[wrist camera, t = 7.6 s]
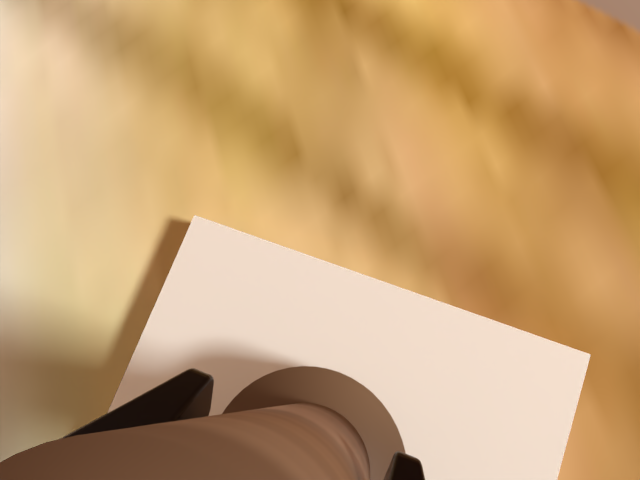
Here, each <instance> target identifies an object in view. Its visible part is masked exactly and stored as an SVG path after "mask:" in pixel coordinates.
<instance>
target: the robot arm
mask: <svg viewBox="0 0 640 480" xmlns="http://www.w3.org/2000/svg"><path fill="white" fill-rule="evenodd" d="M213 385H214V379H213V376H212V375H210V374H208V373H205V372H203V371H200V370H198V369H195V368H191V369H188V370H186V371H184V372H182V373H180V374H178V375H176V376H175V377H173V378H171V379H169V380H167V381H165V382H164V383H162V384H160V385H158V386H156V387H154V388H153V389H151V390H149V391H147V392H145V393H143V394H142V395H140V396H138V397H136V398H134V399H132V400H131V401H129V402H127V403H125V404H123V405H121V406H120V407H118V408H116V409H114V410H112V411H110V412H109V413H107V414H105V415H103V416H101V417H99V418H98V419H96V420H94V421H92V422H90V423H88V424H87V425H85V426H83V427H81V428H79V429H77V430H76V431H74V432H72V433H70V434H68V435H66V436H64V437H63V438H67V437H72V436H76V435H83V434H90V433H97V432H103V431H110V430H117V429H124V428H131V427H138V426H145V425H151V424H158V423H165V422H172V421H179V420H186V419H193V418H199V417H206V416H208V415H209V413H210V409H211V401H212V393H213ZM63 438H61V439H63ZM384 480H425V476H424V472H423V467H422V464H421V461H420V460H419V459H418V458H416V457H413V456H411V455H408V454H406V453H403V452H401V451H397V452H395V453H394V455H393V458H392V460H391V463H390V465H389V467H388V470H387V472H386V475H385V477H384Z"/></svg>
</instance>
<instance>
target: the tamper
mask: <svg viewBox="0 0 640 480" xmlns="http://www.w3.org/2000/svg"><path fill="white" fill-rule="evenodd" d="M397 451H401V452H403V453H405V449H404V445H403V441H402V438H401V436H400V433H399V430H398V428H397V426H396V424H395V422H394V420H393V418H392V417H391V415H390V413H389V412H388V411H387V409H386V408H385V406H384V405H383V404H382V402H381V401H380V400H379V399H378V398H377V397H376V396H375V395H374V394H373V393H372V392H371V391H370V390H369V389H367V388H366V387H365V386H364V385H362V384H361V383H359V382H357V381H356V380H354V379H353V378H351V377H349V376H346V375H344V374H342V373H340V372H337V371H334V370H330V369H327V368H321V367H314V366H299V367H289V368H285V369H281V370H277V371H274V372H272V373H269V374H267V375H265V376H263V377H261V378H259V379H257V380H255V381H254V382H252V383H251V384H250V385H248V386H247V387H245V388H244V389H243V390H242V391H241V392H240V393H239V394H238V395H237V396H236V397H234V399H233V400H232V401H231V402H230V403H229V405H228V406H227V407H226V408H225V410H224V412H223V413H222V414H220V415H213V416H206V417H199V418H193V419H186V420H179V421H172V422H165V423H158V424H151V425H145V426H138V427H131V428H124V429H117V430H110V431H103V432H97V433H90V434H83V435H76V436H72V437H67V438H63V439H59V440H55V441H51V442H46V443H43V444H41V445H38V446H36V447H33V448H30V449H28V450H25V451H23V452H20V453H17V454H15V455H13V456H11V457H10V458H8V459H6V460H4V461H2V462H0V480H384V477H385V475H386V472H387V470H388V467H389V465H390V463H391V460H392V458H393V455H394V453H395V452H397Z"/></svg>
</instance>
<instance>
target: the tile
mask: <svg viewBox="0 0 640 480" xmlns="http://www.w3.org/2000/svg"><path fill="white" fill-rule="evenodd" d="M589 359H590V354H588V353H585V352H582V351H579V350H576V349H573V348H571V347H568V346H565V345H562V344H559V343H556V342H554V341H551V340H548V339H545V338H542V337H539V336H537V335H534V334H531V333H528V332H525V331H522V330H519V329H517V328H514V327H511V326H508V325H505V324H502V323H500V322H497V321H494V320H491V319H488V318H485V317H483V316H480V315H477V314H474V313H471V312H468V311H466V310H463V309H460V308H457V307H454V306H451V305H448V304H446V303H443V302H440V301H437V300H434V299H431V298H429V297H426V296H423V295H420V294H417V293H414V292H412V291H409V290H406V289H403V288H400V287H397V286H395V285H392V284H389V283H386V282H383V281H380V280H377V279H375V278H372V277H369V276H366V275H363V274H360V273H358V272H355V271H352V270H349V269H346V268H343V267H341V266H338V265H335V264H332V263H329V262H326V261H324V260H321V259H318V258H315V257H312V256H309V255H307V254H304V253H301V252H298V251H295V250H292V249H289V248H287V247H284V246H281V245H278V244H275V243H272V242H270V241H267V240H264V239H261V238H258V237H255V236H253V235H250V234H247V233H244V232H241V231H238V230H236V229H233V228H230V227H227V226H224V225H221V224H218V223H216V222H213V221H210V220H207V219H204V218H201V217H199V216H196V215H194V217H193V219H192V222H191V224H190V226H189V228H188V231H187V233H186V235H185V237H184V240H183V242H182V244H181V247H180V249H179V251H178V253H177V256H176V258H175V260H174V262H173V265H172V267H171V269H170V272H169V274H168V276H167V278H166V281H165V283H164V285H163V287H162V290H161V292H160V294H159V296H158V299H157V301H156V303H155V306H154V308H153V310H152V312H151V315H150V317H149V319H148V321H147V324H146V326H145V328H144V331H143V333H142V335H141V337H140V340H139V342H138V344H137V346H136V349H135V351H134V353H133V355H132V358H131V360H130V362H129V365H128V367H127V369H126V371H125V374H124V376H123V378H122V380H121V383H120V385H119V387H118V390H117V392H116V394H115V396H114V399H113V401H112V403H111V405H110V408H109V410H108V412H107V413H109V412H110V411H112V410H114V409H116V408H118V407H120V406H121V405H123V404H125V403H127V402H129V401H131V400H132V399H134V398H136V397H138V396H140V395H142V394H143V393H145V392H147V391H149V390H151V389H153V388H154V387H156V386H158V385H160V384H162V383H164V382H165V381H167V380H169V379H171V378H173V377H175V376H176V375H178V374H180V373H182V372H184V371H186V370H188V369H191V368H195V369H198V370H200V371H203V372H205V373H208V374H210V375H212V376H213V379H214V385H213V393H212V401H211V409H210V413H209V415H208V416H213V415H220V414H222V413H223V412H224V410H225V408H226V407H227V406H228V405H229V403H230V402H231V401H232V400H233V399H234V397H236V396H237V395H238V394H239V393H240V392H241V391H242V390H243V389H244V388H245V387H247V386H248V385H250V384H251V383H252V382H254V381H255V380H257V379H259V378H261V377H263V376H265V375H267V374H269V373H272V372H274V371H277V370H281V369H285V368H289V367H299V366H314V367H321V368H327V369H330V370H334V371H337V372H340V373H342V374H344V375H346V376H349V377H351V378H353V379H354V380H356V381H357V382H359V383H361V384H362V385H364V386H365V387H366V388H367V389H369V390H370V391H371V392H372V393H373V394H374V395H375V396H376V397H377V398H378V399H379V400H380V401H381V402H382V404H383V405H384V406H385V408H386V409H387V411H388V412H389V413H390V415H391V417H392V418H393V420H394V422H395V424H396V426H397V428H398V430H399V433H400V436H401V438H402V441H403V445H404V449H405V453H406V454H408V455H411V456H413V457H416V458H418V459H419V460H420V461H421V464H422V467H423V472H424V476H425V480H557V478H558V474H559V470H560V467H561V463H562V459H563V455H564V452H565V448H566V444H567V441H568V437H569V433H570V430H571V426H572V422H573V418H574V415H575V411H576V407H577V404H578V400H579V396H580V392H581V389H582V385H583V381H584V378H585V374H586V370H587V367H588V363H589Z"/></svg>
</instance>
